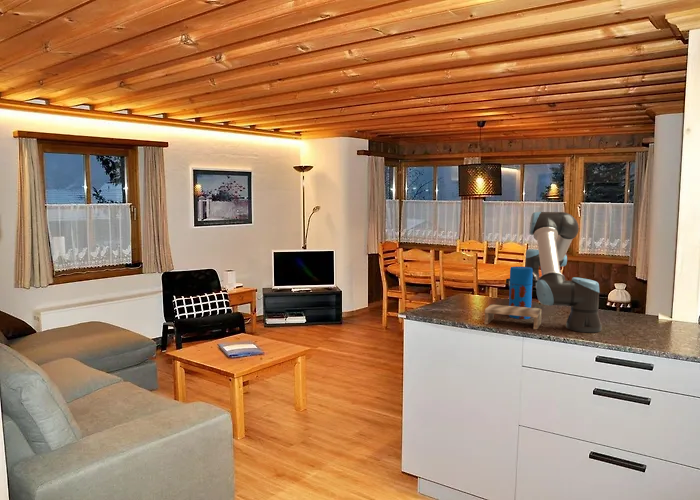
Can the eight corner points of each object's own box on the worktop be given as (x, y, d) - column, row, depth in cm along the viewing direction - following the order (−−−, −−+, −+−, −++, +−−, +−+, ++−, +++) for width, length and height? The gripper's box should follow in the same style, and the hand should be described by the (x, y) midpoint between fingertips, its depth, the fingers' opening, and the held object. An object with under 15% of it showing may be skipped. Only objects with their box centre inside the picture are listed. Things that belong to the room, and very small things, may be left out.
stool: (540, 323, 267) (541, 308, 266) (536, 329, 255) (537, 314, 254) (490, 318, 278) (491, 304, 277) (484, 323, 265) (484, 309, 264)
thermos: (532, 319, 275) (534, 269, 272) (510, 318, 276) (511, 269, 274) (528, 314, 285) (530, 266, 283) (507, 314, 287) (509, 266, 285)
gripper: (552, 287, 304) (547, 293, 285) (506, 283, 315) (498, 289, 296) (553, 273, 303) (548, 279, 284) (506, 270, 314) (499, 276, 295)
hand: (523, 284), depth 290 cm, fingers open, 13 cm apart
